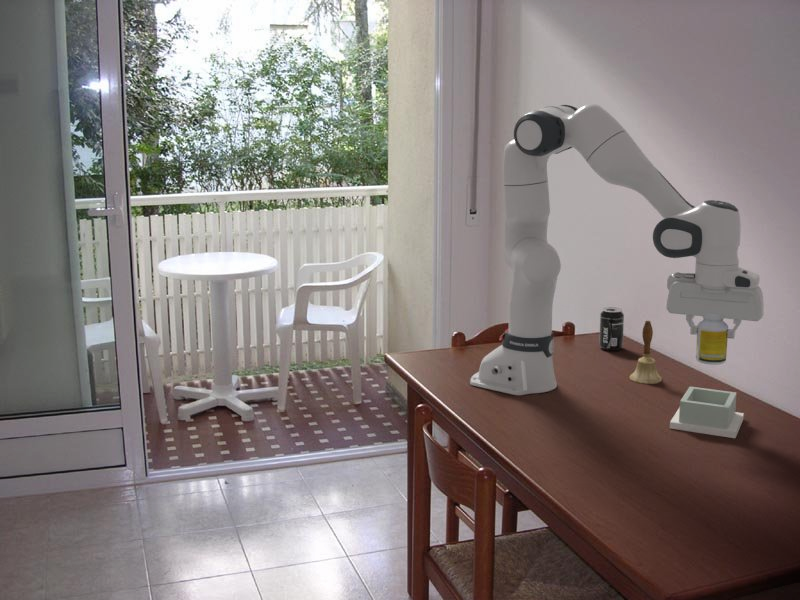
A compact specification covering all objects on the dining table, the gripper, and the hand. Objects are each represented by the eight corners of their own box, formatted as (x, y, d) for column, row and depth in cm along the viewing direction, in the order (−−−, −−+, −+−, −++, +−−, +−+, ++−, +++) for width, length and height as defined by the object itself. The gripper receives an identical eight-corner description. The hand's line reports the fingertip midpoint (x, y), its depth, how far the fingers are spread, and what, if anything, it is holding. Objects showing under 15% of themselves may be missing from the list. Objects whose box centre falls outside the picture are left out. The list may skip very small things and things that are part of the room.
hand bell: (660, 385, 228) (663, 325, 224) (627, 382, 231) (630, 323, 227) (663, 376, 235) (666, 318, 232) (631, 373, 238) (634, 316, 235)
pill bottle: (728, 366, 194) (731, 315, 191) (697, 365, 195) (700, 314, 192) (723, 357, 200) (726, 308, 197) (693, 356, 201) (696, 307, 199)
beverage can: (597, 345, 266) (599, 306, 263) (620, 345, 265) (622, 306, 262) (600, 351, 259) (601, 311, 256) (624, 351, 258) (625, 312, 256)
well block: (669, 428, 198) (671, 400, 197) (681, 410, 209) (682, 384, 208) (735, 438, 192) (737, 410, 190) (743, 419, 203) (745, 392, 202)
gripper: (664, 274, 195) (661, 334, 198) (763, 281, 186) (759, 344, 189) (670, 269, 200) (667, 327, 204) (767, 276, 191) (762, 337, 194)
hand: (712, 336), depth 196 cm, fingers closed on pill bottle, 6 cm apart
